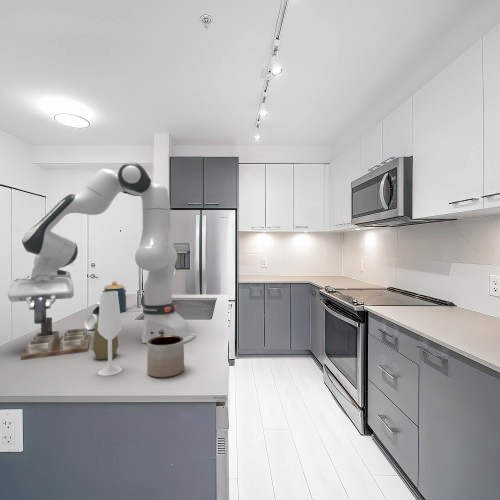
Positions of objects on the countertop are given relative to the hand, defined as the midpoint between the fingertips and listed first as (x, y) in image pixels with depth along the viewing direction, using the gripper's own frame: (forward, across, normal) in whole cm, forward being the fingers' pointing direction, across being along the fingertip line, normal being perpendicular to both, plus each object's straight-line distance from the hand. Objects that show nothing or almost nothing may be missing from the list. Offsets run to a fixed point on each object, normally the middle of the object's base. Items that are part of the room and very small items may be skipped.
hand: (39, 308), depth 112 cm
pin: (+3, 0, +4) cm, 5 cm away
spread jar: (-10, +18, +34) cm, 40 cm away
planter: (+36, +38, -12) cm, 54 cm away
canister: (-37, +25, +60) cm, 75 cm away
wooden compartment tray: (+7, +5, +16) cm, 18 cm away
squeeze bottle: (+21, +21, +3) cm, 30 cm away
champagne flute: (+31, +23, -7) cm, 39 cm away
